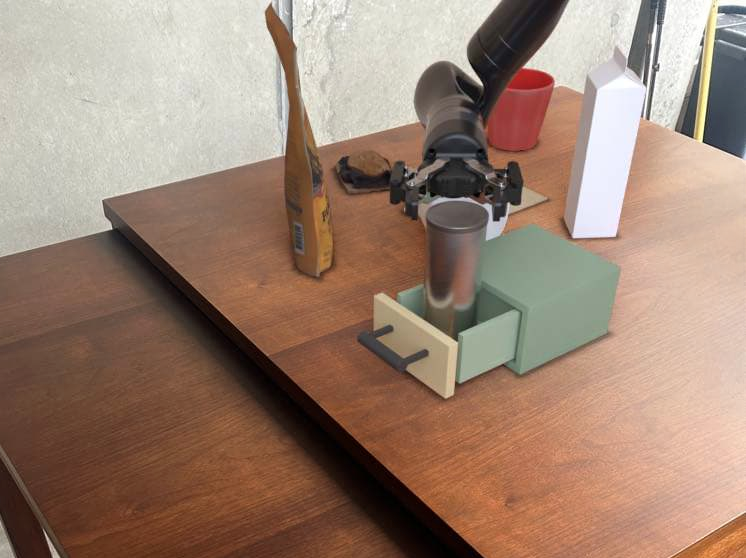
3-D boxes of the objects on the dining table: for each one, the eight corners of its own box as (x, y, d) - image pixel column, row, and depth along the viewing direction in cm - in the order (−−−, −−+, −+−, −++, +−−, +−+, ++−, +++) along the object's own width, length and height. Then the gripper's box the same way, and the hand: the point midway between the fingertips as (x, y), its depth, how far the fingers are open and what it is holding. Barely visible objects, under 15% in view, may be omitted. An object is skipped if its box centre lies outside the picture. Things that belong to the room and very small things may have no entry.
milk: (571, 239, 117) (601, 60, 101) (563, 219, 121) (589, 45, 106) (616, 237, 117) (653, 58, 101) (606, 217, 121) (639, 42, 105)
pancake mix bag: (284, 286, 110) (264, 41, 90) (281, 219, 123) (263, -7, 104) (337, 283, 110) (328, 38, 90) (328, 216, 124) (319, -9, 104)
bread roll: (332, 167, 136) (331, 143, 134) (384, 161, 137) (384, 137, 134) (345, 195, 129) (344, 170, 126) (400, 189, 130) (400, 164, 127)
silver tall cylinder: (451, 324, 99) (460, 194, 88) (487, 348, 95) (502, 216, 84) (408, 342, 96) (412, 211, 86) (444, 367, 93) (453, 234, 82)
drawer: (413, 414, 89) (415, 361, 84) (342, 359, 96) (341, 308, 92) (532, 358, 96) (540, 306, 91) (458, 310, 103) (462, 260, 98)
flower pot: (537, 128, 145) (545, 64, 138) (552, 153, 137) (562, 88, 130) (474, 131, 145) (479, 68, 138) (486, 157, 137) (492, 91, 130)
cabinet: (519, 375, 95) (529, 307, 89) (438, 322, 103) (442, 257, 97) (607, 333, 100) (621, 267, 94) (523, 286, 108) (532, 222, 102)
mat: (500, 177, 132) (500, 175, 131) (547, 199, 126) (547, 197, 125) (450, 195, 128) (450, 193, 127) (496, 219, 122) (496, 216, 122)
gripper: (394, 117, 99) (387, 175, 88) (520, 117, 98) (530, 176, 86) (393, 183, 104) (387, 245, 93) (512, 183, 103) (521, 247, 92)
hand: (456, 212), depth 90 cm, fingers open, 8 cm apart
